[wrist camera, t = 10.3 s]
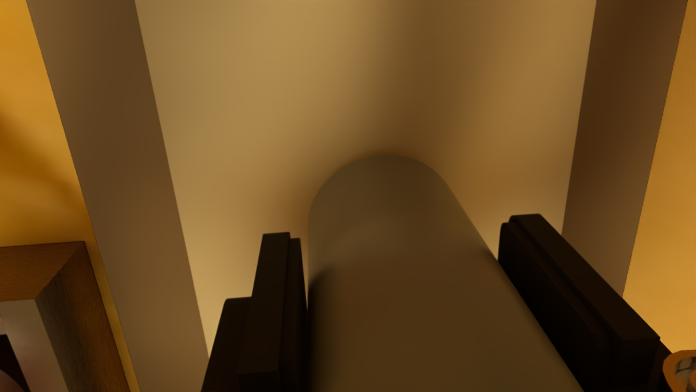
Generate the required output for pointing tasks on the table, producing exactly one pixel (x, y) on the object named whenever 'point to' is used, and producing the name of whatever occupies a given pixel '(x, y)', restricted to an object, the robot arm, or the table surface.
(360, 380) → the cylinder
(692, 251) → the table surface
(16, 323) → the button housing
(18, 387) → the button
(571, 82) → the board
